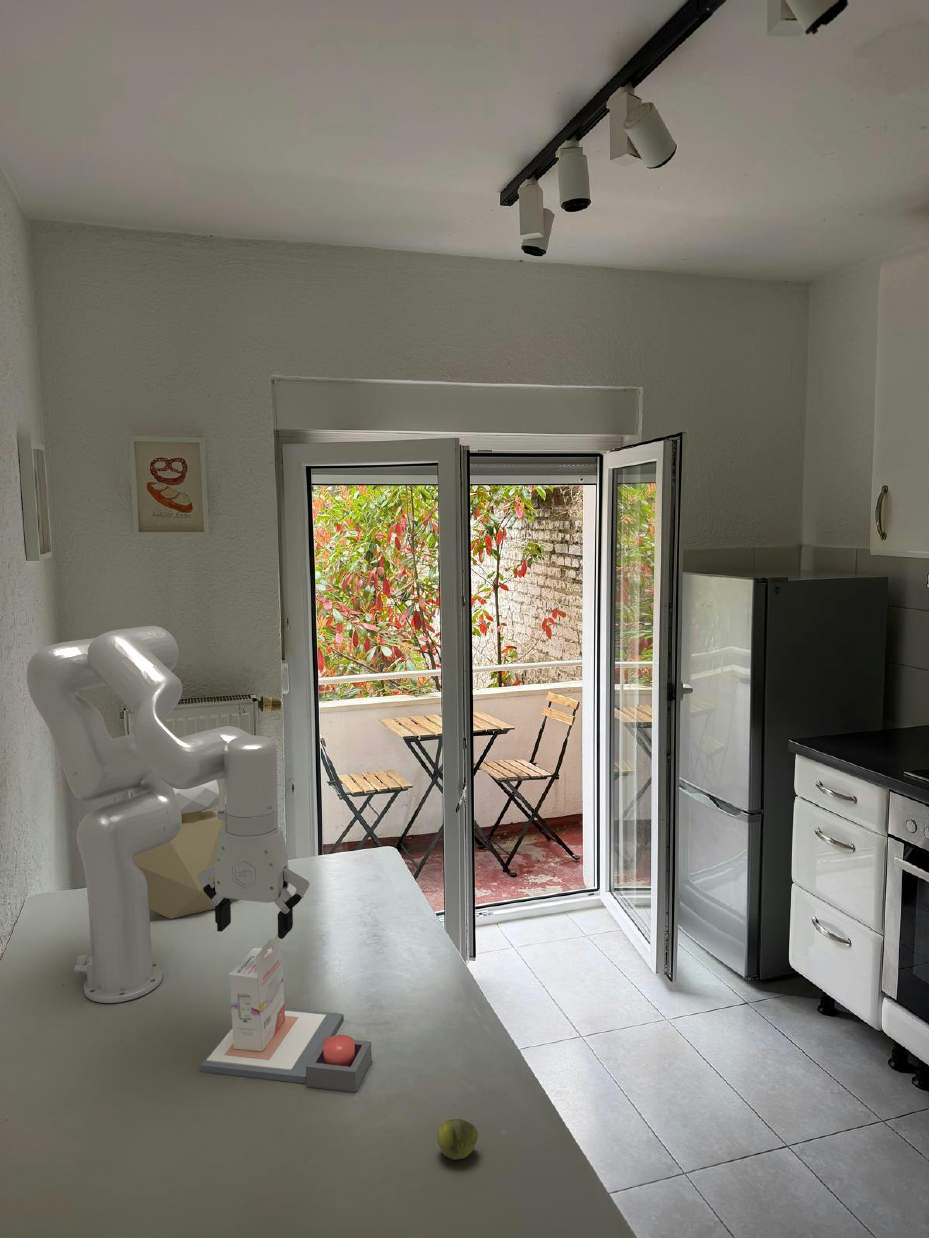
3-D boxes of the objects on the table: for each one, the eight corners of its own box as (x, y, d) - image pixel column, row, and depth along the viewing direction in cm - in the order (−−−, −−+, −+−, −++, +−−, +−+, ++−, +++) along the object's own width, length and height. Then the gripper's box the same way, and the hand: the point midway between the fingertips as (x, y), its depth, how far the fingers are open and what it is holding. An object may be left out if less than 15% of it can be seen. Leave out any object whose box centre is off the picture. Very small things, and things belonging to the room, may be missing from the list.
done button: (319, 1071, 122) (318, 1051, 122) (330, 1052, 127) (329, 1033, 126) (349, 1074, 121) (348, 1054, 121) (359, 1055, 126) (358, 1036, 125)
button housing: (306, 1086, 121) (305, 1066, 121) (324, 1055, 128) (324, 1036, 128) (356, 1092, 120) (355, 1071, 120) (371, 1060, 127) (371, 1041, 127)
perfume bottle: (260, 904, 180) (254, 772, 177) (138, 933, 168) (129, 793, 165) (243, 884, 191) (237, 759, 188) (127, 910, 179) (118, 777, 176)
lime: (432, 1154, 108) (431, 1116, 107) (464, 1137, 111) (463, 1100, 110) (452, 1175, 104) (451, 1136, 104) (485, 1158, 107) (484, 1120, 106)
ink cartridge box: (256, 1017, 136) (252, 927, 135) (286, 1020, 135) (282, 929, 134) (231, 1049, 128) (226, 954, 126) (262, 1053, 127) (258, 957, 125)
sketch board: (200, 1071, 125) (200, 1062, 125) (249, 1010, 141) (248, 1002, 141) (305, 1083, 122) (305, 1074, 122) (343, 1019, 138) (343, 1011, 137)
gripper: (184, 824, 126) (188, 936, 128) (297, 835, 123) (299, 949, 125) (209, 807, 133) (212, 913, 136) (316, 816, 130) (317, 925, 132)
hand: (254, 930), depth 130 cm, fingers open, 9 cm apart
